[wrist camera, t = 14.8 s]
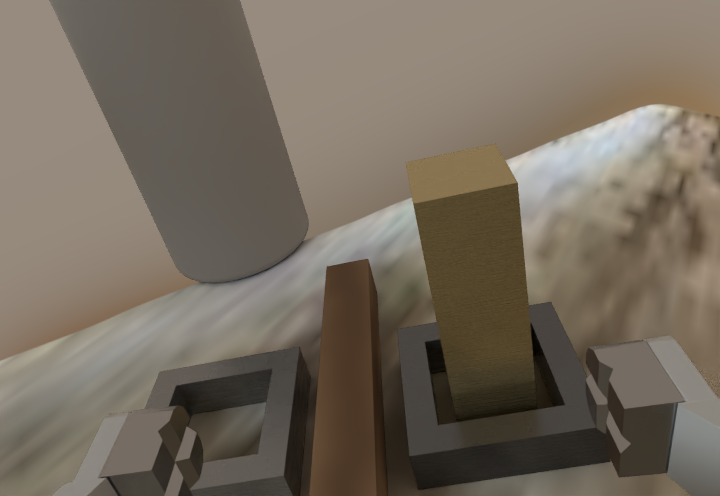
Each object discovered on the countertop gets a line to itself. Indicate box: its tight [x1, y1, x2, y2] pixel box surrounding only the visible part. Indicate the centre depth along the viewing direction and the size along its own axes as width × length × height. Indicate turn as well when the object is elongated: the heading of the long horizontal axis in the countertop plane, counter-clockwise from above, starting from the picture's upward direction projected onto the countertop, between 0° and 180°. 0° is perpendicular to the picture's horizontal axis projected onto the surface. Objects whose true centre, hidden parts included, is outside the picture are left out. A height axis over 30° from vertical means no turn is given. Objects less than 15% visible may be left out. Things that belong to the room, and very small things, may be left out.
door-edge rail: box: [309, 259, 388, 496], centre depth 32 cm, size 3×22×3 cm, turn 0°
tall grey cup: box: [50, 0, 308, 283], centre depth 46 cm, size 12×12×25 cm
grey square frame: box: [145, 347, 310, 496], centre depth 32 cm, size 9×9×2 cm
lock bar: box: [406, 144, 538, 422], centre depth 27 cm, size 4×4×14 cm
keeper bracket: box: [397, 302, 610, 490], centre depth 30 cm, size 9×9×2 cm
